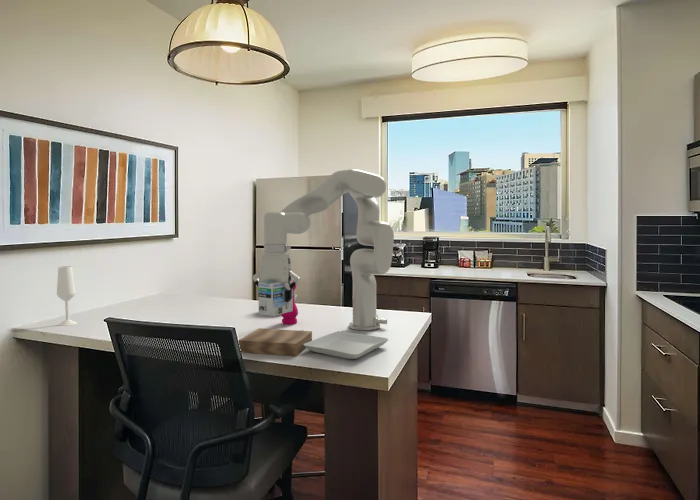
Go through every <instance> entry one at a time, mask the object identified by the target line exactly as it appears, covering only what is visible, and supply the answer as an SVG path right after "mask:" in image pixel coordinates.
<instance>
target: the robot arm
mask: <svg viewBox="0 0 700 500" xmlns="http://www.w3.org/2000/svg"><path fill="white" fill-rule="evenodd" d="M386 190H387V183H386V181H385V179H384V177H382V176H380V175H378V174H377V173H376V174H375V173H372V172H367V171H363V170H360V169H356V168H355V169H354V168H351V169H344V170H337V171H335V172H333V173H332V174H330V175H329V176H328V177H327V178H326V179H324V180H323V181H322V182H321V183H320V184H319V185H318V186H317V187H315V188H314V189H312V191H311V190H310V192H307V193H306V194H303V196H301V197H299V198H296V199H295V200H293V201H291V202H290V203H289V204H288V205H286V206H285V207H284V208H283V209H281V211H276V212H275V211H272V212H270V211H269V212H265V214H264V215H263V253H262V255H261V259H260V266H259V267H260V268H259V271H257V272H256V273H255V274H253V275H252V276H251V278H252V280H253V282H254V284H255V285H256V286H257V287H258V282H280V283H283V284H284V285H285V287H286V288H287V290H286V291H285V301H286V302H289V301H290V300H291V299H292V289H293V287H294V286H295V285H296V286H297V285H298V283H299V281H300V280H301V277H300V276H299V275H297V274H296V273H295V272H293V269H292V268H293V267H292V260H291V255H290V253H289V252H288V251H290V250H291V249H292V247H291V245H288V243H287V241H288V239H287V236H288V235H287V234H291V235H292V234H293V235H294V234H295V235H300V234H304V233H306V232H307V231H309V229H310V227H311V219H310V217H309V216H312V215H315V214H317V213H318V214H319V213H322V212H324V211H325V210H328V209H329V208H330V207H331V206H333V205H334V204H335V203H336V202H337V201H338V200H339V199H341V197H343V196H344V195H345V194H348V193H349V195H350V197H352V199H353V201H355V204H356V206H357V210H358V211H357V223H356V224H357V225H356V241H357V242H358V244H360V245H363V246H371V247H373V249H372V248H358V249H355V250H354V251H353V252H352V254H351V255H350V258H349V263H350V270H351V277H352V321H351V322H349V323H348V327H349V329H352V330H355V331H356V330H357V331H372V330H373V331H374V330H379V329H380V328H381V325H387V324H388V319H387V318H381V317H379V314H377V280H376V277H375V275H385V274H387V273H388V272H389V270H391V266H392V261H393V250H394V242H395V241H394V240H395V235H394V230H393V227H392V226H391V224H389V223H388V222H385V221H380V206H379V203H378V201H377V200H376V199H377V198H380V197H382V196H383V195H384V194H385V192H386ZM291 280H294V281H293V282H292V283H290V281H291Z"/></svg>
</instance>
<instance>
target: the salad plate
mask: <svg viewBox="0 0 700 500" xmlns="http://www.w3.org/2000/svg"><path fill="white" fill-rule="evenodd" d="M388 341H389V338H387V337H381V336H374V335H368V334H363V333H356V332H348V331H340V330H339V331H334V332H331V333H329V334H326V335H323V336H320V337H318V338H315V339H312V341H310V342H308V343H305V344H303V345H304V347H305V349H307V350H309V351H310V352H313V353H317V354H322V355H326V356H332V357H336V358H341V359H342V358H343V359H348V360H355V359H359V358H360V357H361V358H362V356H365V355H368V353H370V352H373V351H374V349H375V350H376V349H378V348H381V347H382V346H384V345H385V344H386V343H387V342H388Z"/></svg>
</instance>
